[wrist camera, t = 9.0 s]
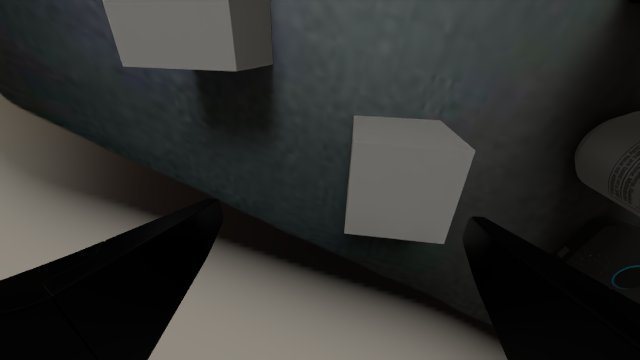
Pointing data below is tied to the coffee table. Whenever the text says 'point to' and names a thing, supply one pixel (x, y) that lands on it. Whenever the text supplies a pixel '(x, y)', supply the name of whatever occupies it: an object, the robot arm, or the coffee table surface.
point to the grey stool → (404, 178)
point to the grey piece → (192, 33)
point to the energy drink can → (613, 160)
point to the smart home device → (607, 255)
